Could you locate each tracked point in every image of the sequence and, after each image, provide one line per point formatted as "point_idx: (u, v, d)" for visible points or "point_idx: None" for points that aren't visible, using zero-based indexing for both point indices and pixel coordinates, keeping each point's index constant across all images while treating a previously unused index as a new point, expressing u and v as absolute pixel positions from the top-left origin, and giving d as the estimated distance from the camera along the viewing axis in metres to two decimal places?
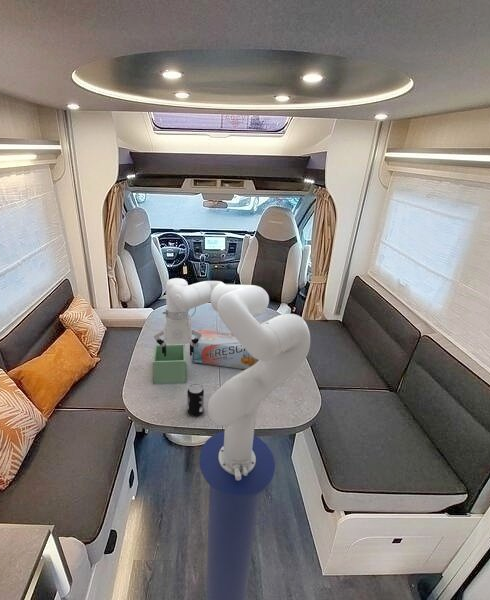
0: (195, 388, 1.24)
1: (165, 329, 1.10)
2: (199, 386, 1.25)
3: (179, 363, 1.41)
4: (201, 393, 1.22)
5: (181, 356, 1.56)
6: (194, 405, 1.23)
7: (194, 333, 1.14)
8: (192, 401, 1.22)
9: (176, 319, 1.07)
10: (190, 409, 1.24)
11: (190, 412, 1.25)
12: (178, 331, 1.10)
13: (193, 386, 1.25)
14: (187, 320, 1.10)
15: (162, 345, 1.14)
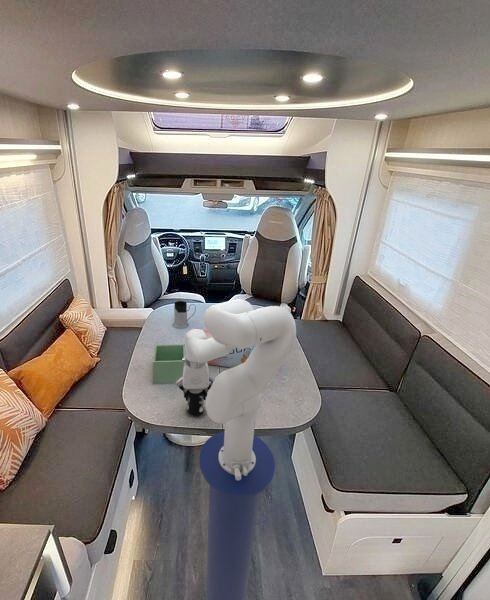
0: None
1: (184, 376, 1.18)
2: None
3: (179, 363, 1.41)
4: (201, 393, 1.22)
5: (181, 356, 1.56)
6: (194, 405, 1.23)
7: (210, 379, 1.22)
8: (192, 401, 1.22)
9: (195, 368, 1.15)
10: (190, 409, 1.24)
11: (190, 412, 1.25)
12: (196, 378, 1.18)
13: None
14: (205, 368, 1.17)
15: (184, 391, 1.22)
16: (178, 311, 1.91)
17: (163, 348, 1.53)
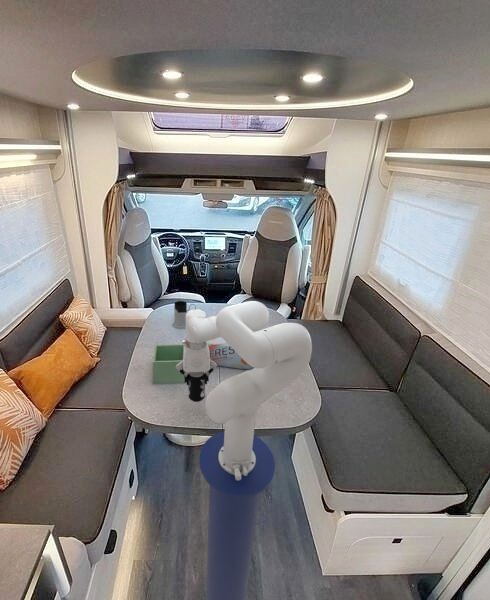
0: (196, 372, 1.20)
1: (185, 358, 1.14)
2: None
3: None
4: (202, 377, 1.19)
5: (181, 356, 1.56)
6: (195, 390, 1.19)
7: (211, 363, 1.18)
8: (192, 385, 1.19)
9: (195, 349, 1.12)
10: (191, 394, 1.20)
11: (191, 397, 1.21)
12: (197, 360, 1.15)
13: None
14: (206, 349, 1.14)
15: (185, 375, 1.18)
16: (178, 311, 1.91)
17: (163, 348, 1.53)
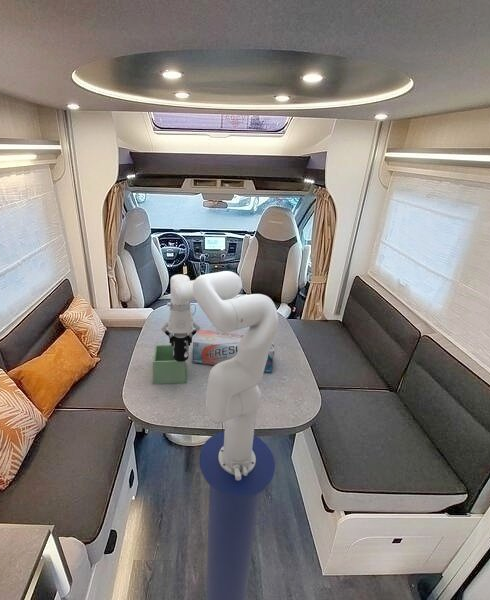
0: (180, 334, 1.29)
1: (169, 320, 1.23)
2: None
3: (179, 363, 1.41)
4: (186, 338, 1.28)
5: None
6: (179, 350, 1.28)
7: (194, 325, 1.27)
8: (177, 345, 1.28)
9: (179, 311, 1.21)
10: (176, 354, 1.30)
11: (175, 357, 1.30)
12: (181, 321, 1.24)
13: (179, 333, 1.30)
14: (189, 312, 1.23)
15: (169, 336, 1.28)
16: None
17: (163, 348, 1.53)
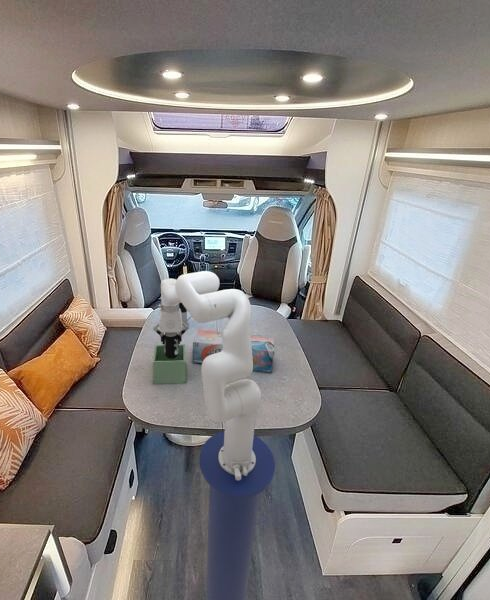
0: (171, 333, 1.41)
1: (160, 320, 1.35)
2: (174, 332, 1.42)
3: (179, 363, 1.41)
4: (176, 337, 1.39)
5: (181, 356, 1.56)
6: (170, 348, 1.40)
7: (183, 325, 1.39)
8: (167, 343, 1.39)
9: (169, 312, 1.32)
10: (167, 351, 1.41)
11: (166, 354, 1.42)
12: (171, 322, 1.35)
13: (169, 332, 1.42)
14: (178, 312, 1.34)
15: (161, 335, 1.39)
16: None
17: (163, 348, 1.53)
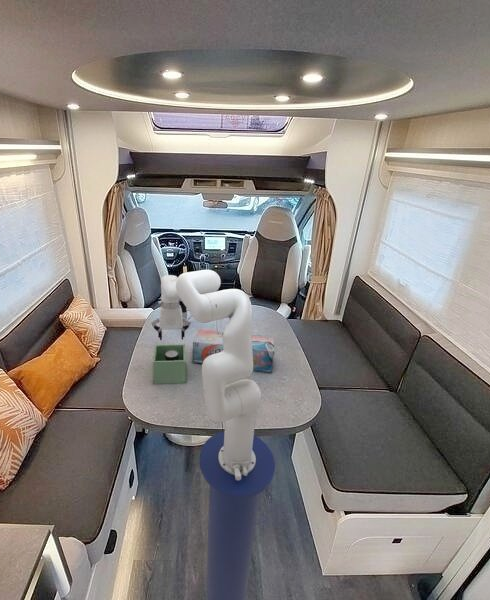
0: (171, 353, 1.45)
1: (160, 317, 1.34)
2: (175, 352, 1.46)
3: (179, 363, 1.41)
4: (176, 357, 1.43)
5: (181, 356, 1.56)
6: None
7: (185, 320, 1.38)
8: None
9: (169, 308, 1.32)
10: None
11: None
12: (171, 318, 1.35)
13: (170, 352, 1.46)
14: (178, 309, 1.34)
15: (158, 330, 1.38)
16: None
17: (163, 348, 1.53)
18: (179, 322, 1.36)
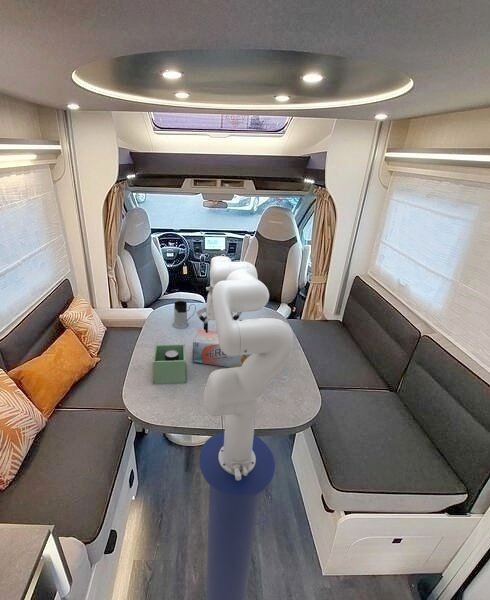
0: (171, 353, 1.45)
1: (209, 305, 1.15)
2: (175, 352, 1.46)
3: (179, 363, 1.41)
4: (176, 357, 1.43)
5: (181, 356, 1.56)
6: None
7: None
8: None
9: None
10: None
11: None
12: None
13: (170, 352, 1.46)
14: None
15: (205, 321, 1.19)
16: (178, 311, 1.91)
17: (163, 348, 1.53)
18: None
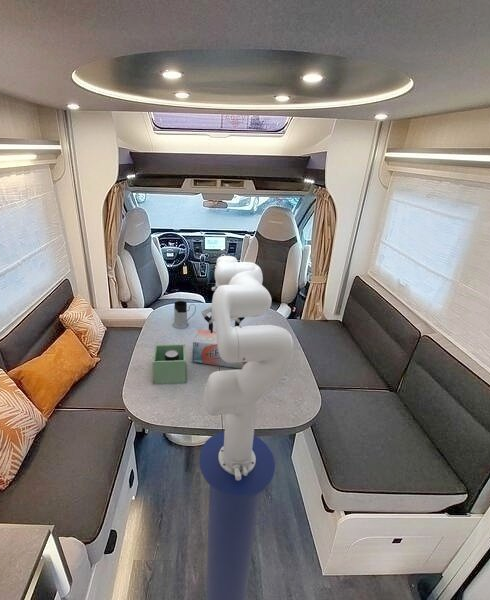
0: (171, 353, 1.45)
1: None
2: (175, 352, 1.46)
3: (179, 363, 1.41)
4: (176, 357, 1.43)
5: (181, 356, 1.56)
6: None
7: None
8: None
9: None
10: None
11: None
12: None
13: (170, 352, 1.46)
14: None
15: (210, 322, 1.17)
16: (178, 311, 1.91)
17: (163, 348, 1.53)
18: None
